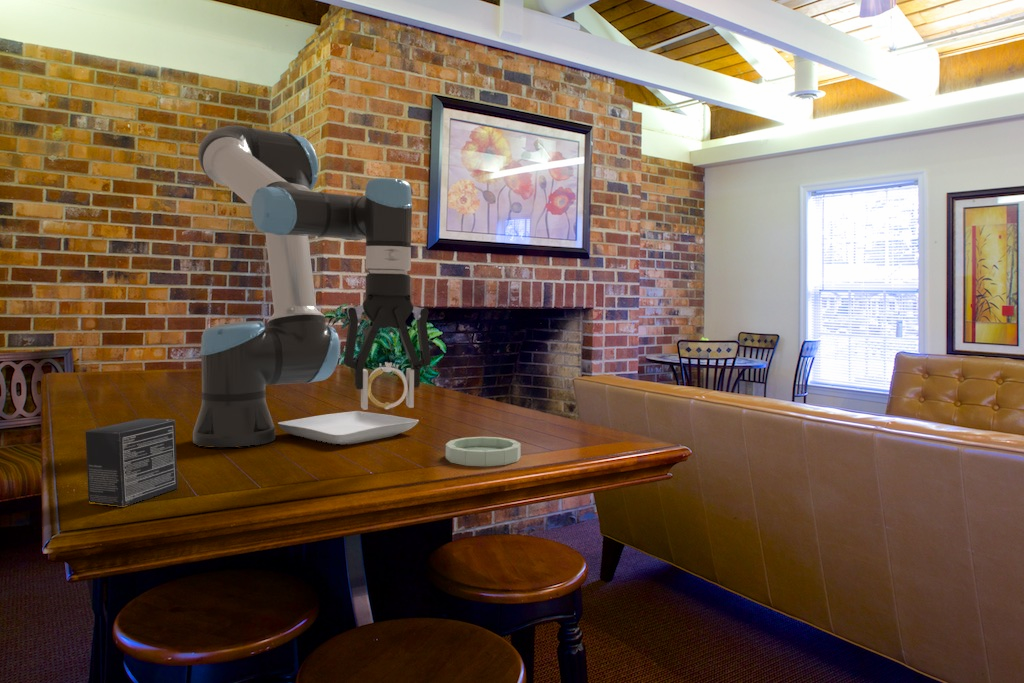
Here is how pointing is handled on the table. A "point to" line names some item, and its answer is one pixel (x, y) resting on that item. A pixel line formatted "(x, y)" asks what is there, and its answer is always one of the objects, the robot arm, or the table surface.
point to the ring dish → (483, 451)
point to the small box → (131, 461)
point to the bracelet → (380, 370)
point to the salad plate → (348, 427)
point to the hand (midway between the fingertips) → (387, 407)
